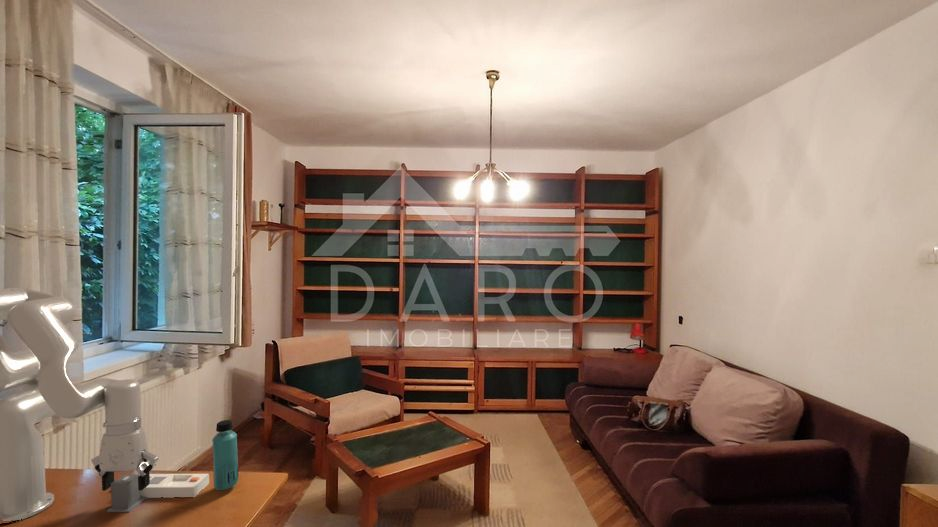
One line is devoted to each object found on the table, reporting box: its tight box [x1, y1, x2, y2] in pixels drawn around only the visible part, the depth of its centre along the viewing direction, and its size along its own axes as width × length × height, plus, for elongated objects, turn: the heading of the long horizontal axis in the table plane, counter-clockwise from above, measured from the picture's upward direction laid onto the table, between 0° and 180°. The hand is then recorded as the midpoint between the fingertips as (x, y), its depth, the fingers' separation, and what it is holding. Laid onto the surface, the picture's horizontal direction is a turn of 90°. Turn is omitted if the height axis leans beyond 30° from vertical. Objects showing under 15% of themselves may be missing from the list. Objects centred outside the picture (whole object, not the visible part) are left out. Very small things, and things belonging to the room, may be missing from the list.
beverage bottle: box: [211, 419, 240, 491], centre depth 123 cm, size 6×7×20 cm
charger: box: [110, 473, 141, 509], centre depth 115 cm, size 4×4×7 cm
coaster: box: [106, 497, 147, 513], centre depth 115 cm, size 6×6×1 cm
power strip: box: [140, 473, 210, 499], centre depth 122 cm, size 26×7×4 cm, turn 91°
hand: (126, 487), depth 115 cm, fingers open, 9 cm apart
